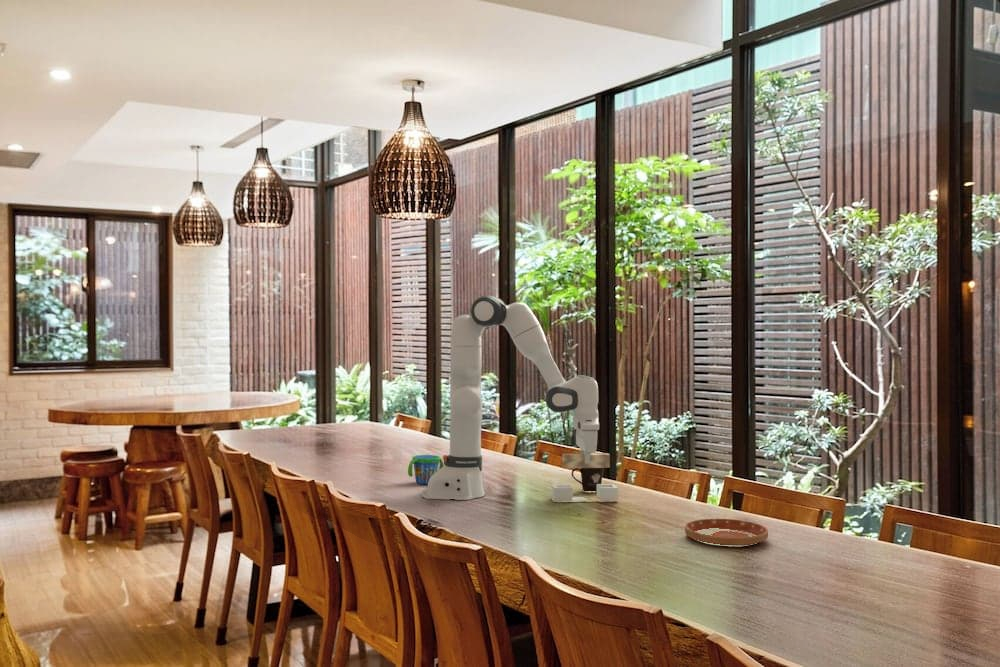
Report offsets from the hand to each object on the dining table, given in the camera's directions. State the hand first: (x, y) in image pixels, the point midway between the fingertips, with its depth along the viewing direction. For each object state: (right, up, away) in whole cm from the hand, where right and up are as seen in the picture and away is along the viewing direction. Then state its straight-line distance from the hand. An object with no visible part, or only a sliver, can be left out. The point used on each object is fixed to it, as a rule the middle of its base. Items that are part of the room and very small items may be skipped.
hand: (585, 462), depth 294 cm
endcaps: (0, -13, 0) cm, 13 cm away
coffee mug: (+2, -13, +17) cm, 22 cm away
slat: (0, -2, 0) cm, 2 cm away
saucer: (+35, -15, -52) cm, 64 cm away
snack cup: (-58, -13, +29) cm, 66 cm away
